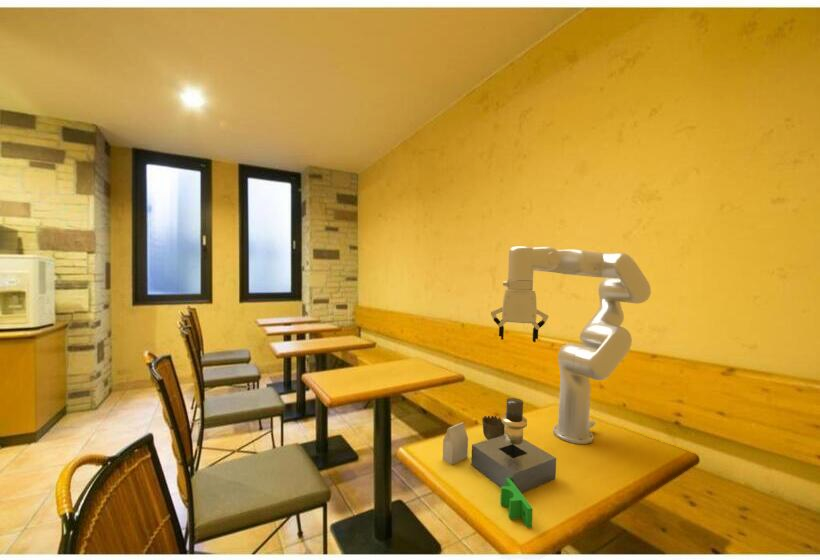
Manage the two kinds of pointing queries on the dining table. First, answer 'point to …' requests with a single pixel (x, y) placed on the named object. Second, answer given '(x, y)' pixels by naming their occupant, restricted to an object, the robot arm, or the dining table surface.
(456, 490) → the dining table surface
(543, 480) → the plate
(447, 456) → the tan milk carton
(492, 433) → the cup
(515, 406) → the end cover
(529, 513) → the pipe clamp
